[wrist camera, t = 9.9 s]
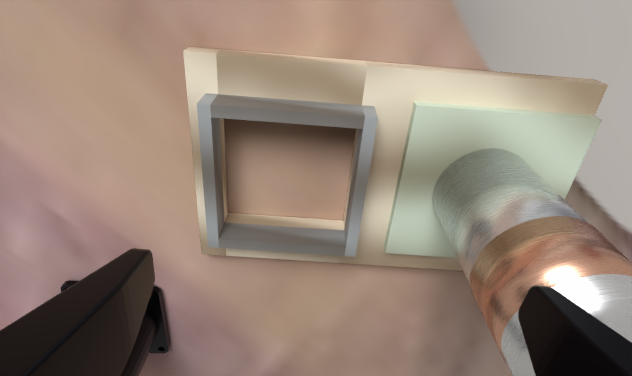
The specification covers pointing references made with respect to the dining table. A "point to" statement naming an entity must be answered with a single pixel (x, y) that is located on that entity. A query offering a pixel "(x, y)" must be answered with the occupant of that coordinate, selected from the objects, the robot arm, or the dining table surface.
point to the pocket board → (377, 146)
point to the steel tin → (526, 247)
